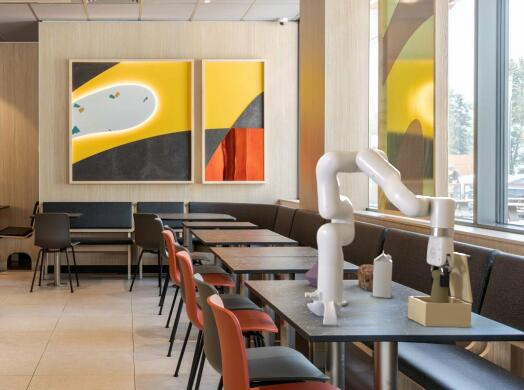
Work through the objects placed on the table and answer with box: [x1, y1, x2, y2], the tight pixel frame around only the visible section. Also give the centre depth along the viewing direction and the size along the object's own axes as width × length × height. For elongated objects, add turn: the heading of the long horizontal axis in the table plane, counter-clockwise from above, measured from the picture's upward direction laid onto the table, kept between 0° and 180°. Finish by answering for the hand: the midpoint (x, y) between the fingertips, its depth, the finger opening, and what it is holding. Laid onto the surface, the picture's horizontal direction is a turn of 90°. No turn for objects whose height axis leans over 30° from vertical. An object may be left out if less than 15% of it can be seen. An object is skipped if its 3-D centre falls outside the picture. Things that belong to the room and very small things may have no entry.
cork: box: [430, 269, 450, 303], centre depth 217 cm, size 6×6×11 cm
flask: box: [303, 257, 318, 288], centre depth 286 cm, size 16×16×20 cm
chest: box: [407, 295, 473, 328], centre depth 217 cm, size 16×13×8 cm
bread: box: [357, 263, 374, 292], centre depth 283 cm, size 19×11×10 cm, turn 170°
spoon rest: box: [306, 301, 342, 326], centre depth 219 cm, size 24×12×7 cm, turn 171°
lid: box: [449, 251, 474, 304], centre depth 217 cm, size 16×13×5 cm
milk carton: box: [372, 250, 393, 299], centre depth 264 cm, size 7×7×19 cm
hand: (439, 284), depth 217 cm, fingers closed on cork, 5 cm apart
